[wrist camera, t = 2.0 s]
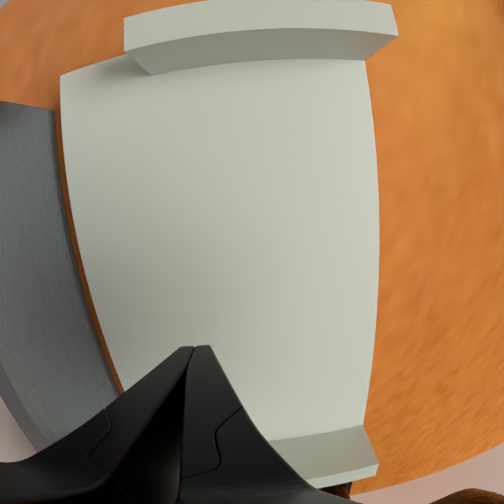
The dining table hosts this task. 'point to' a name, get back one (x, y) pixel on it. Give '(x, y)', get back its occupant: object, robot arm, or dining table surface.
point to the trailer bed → (239, 209)
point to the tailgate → (43, 290)
